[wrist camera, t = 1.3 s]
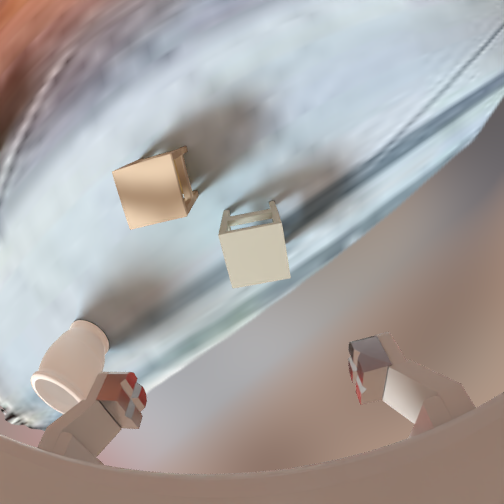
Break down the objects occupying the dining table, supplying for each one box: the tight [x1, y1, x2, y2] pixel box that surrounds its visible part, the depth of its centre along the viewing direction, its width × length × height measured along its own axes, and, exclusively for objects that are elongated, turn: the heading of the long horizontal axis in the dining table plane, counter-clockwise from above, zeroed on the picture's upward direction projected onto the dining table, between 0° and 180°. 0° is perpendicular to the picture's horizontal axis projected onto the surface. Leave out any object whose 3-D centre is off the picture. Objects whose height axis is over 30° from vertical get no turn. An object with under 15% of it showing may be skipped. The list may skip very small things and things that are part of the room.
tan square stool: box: [112, 146, 199, 230], centre depth 31 cm, size 6×6×8 cm
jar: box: [31, 320, 109, 414], centre depth 39 cm, size 11×10×15 cm
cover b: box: [218, 201, 291, 288], centre depth 34 cm, size 6×6×8 cm
